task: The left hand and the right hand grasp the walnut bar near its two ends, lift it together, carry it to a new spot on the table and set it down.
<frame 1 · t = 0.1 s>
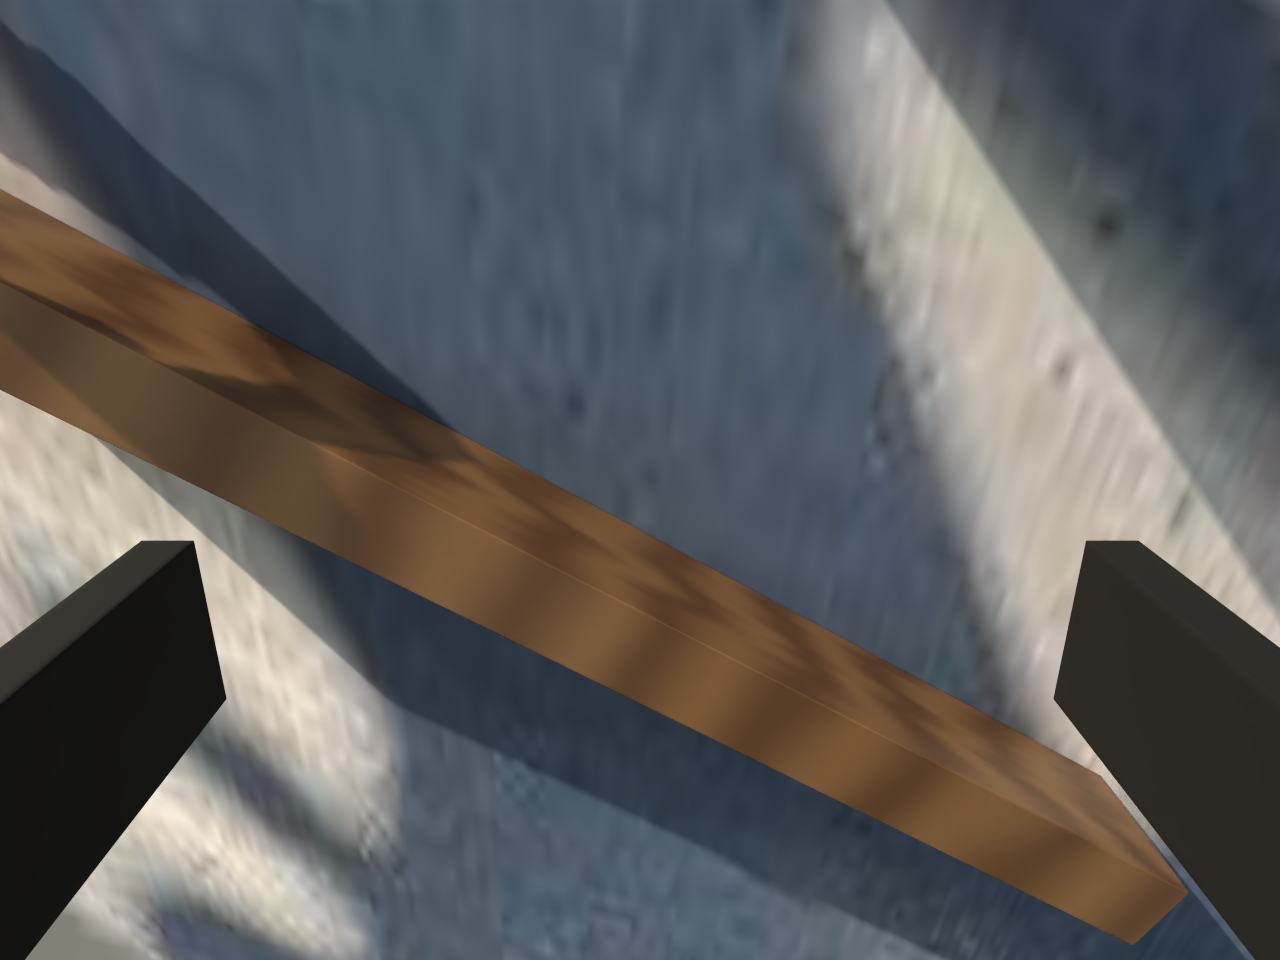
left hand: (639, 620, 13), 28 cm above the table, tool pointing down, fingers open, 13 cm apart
bar: (540, 518, 42), on the table
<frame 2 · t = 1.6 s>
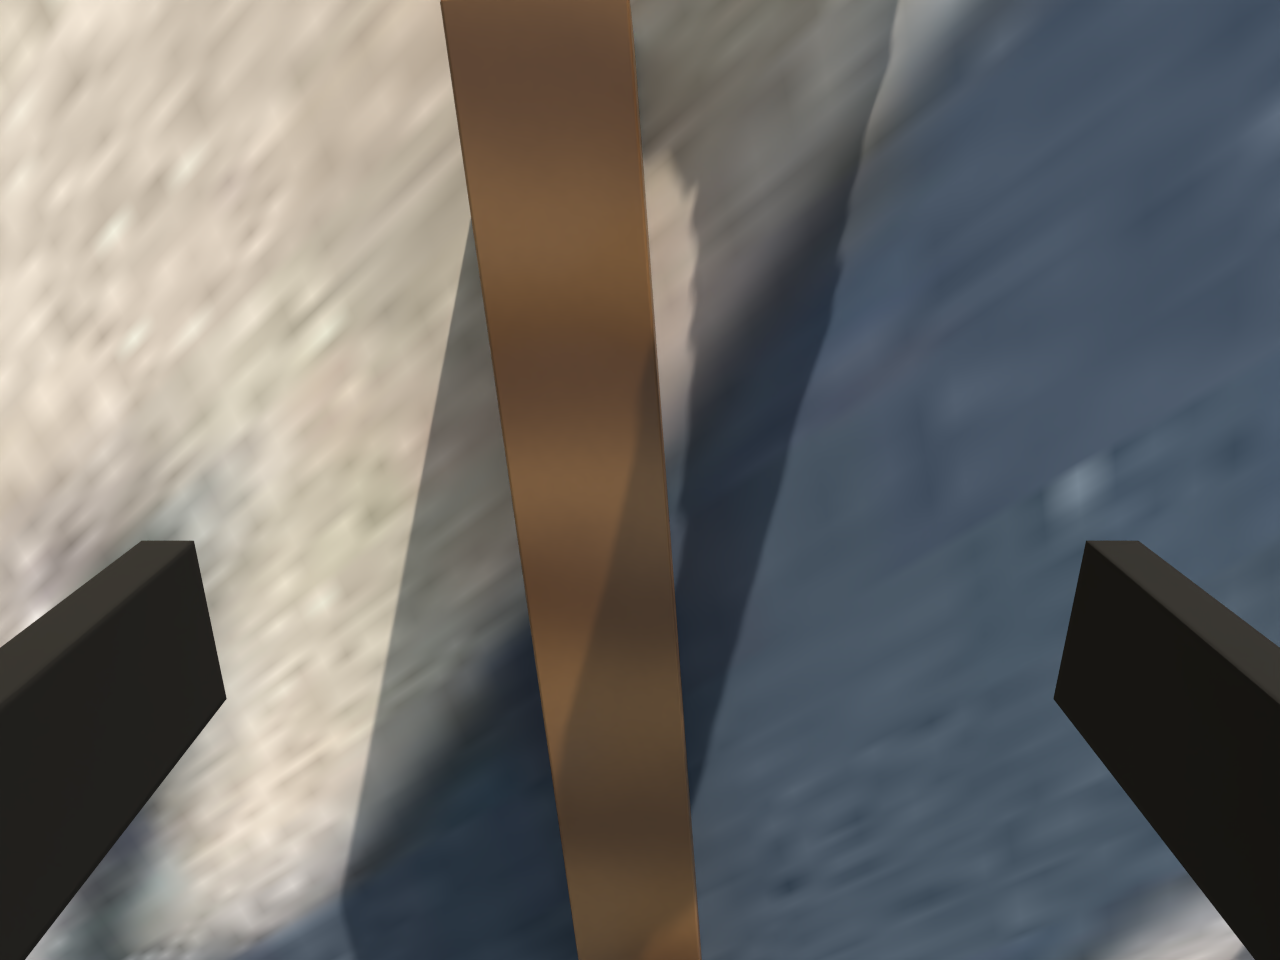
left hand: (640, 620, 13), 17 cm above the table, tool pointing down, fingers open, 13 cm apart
bar: (654, 917, 38), on the table
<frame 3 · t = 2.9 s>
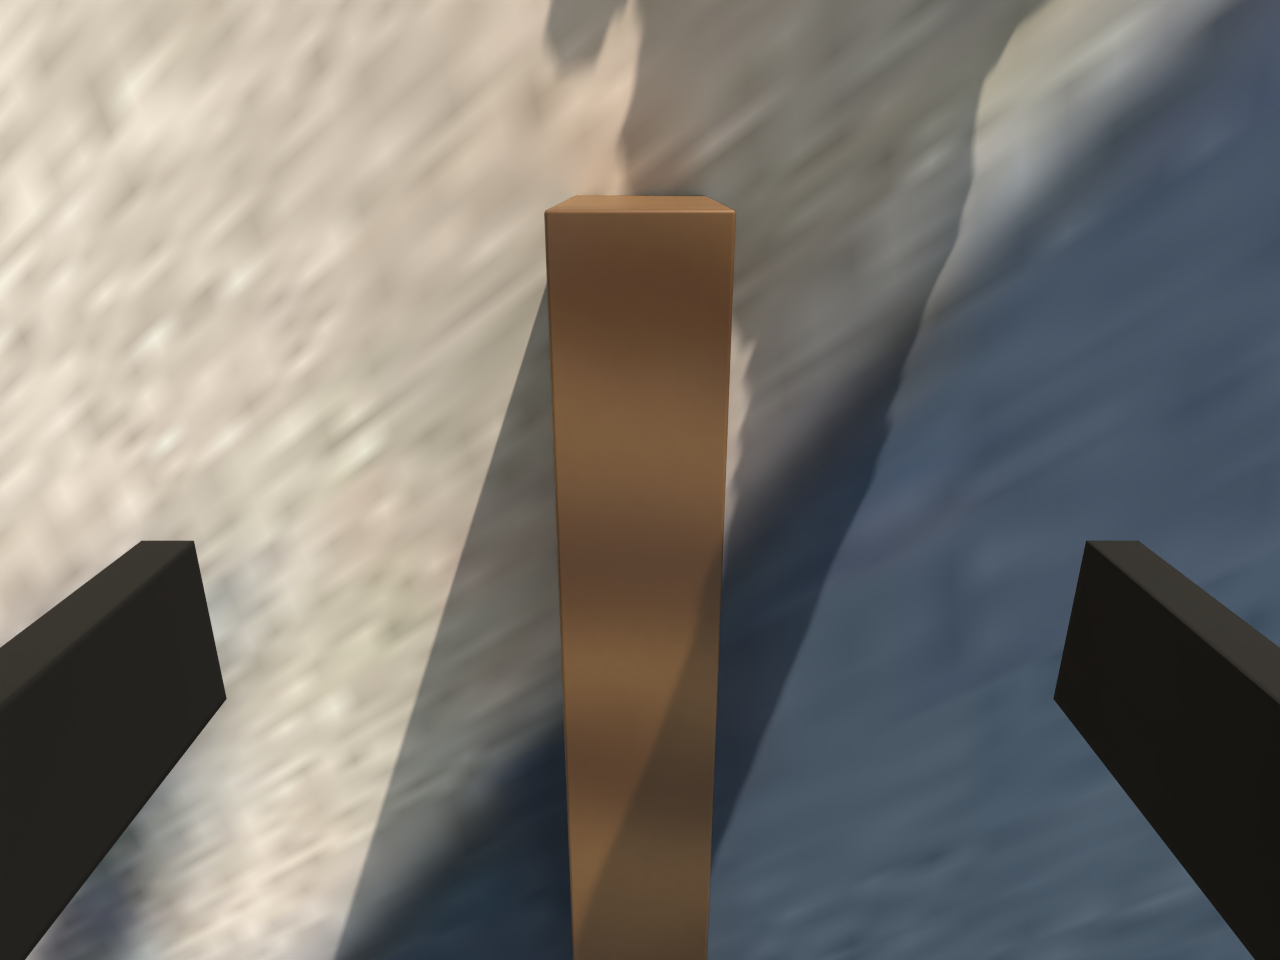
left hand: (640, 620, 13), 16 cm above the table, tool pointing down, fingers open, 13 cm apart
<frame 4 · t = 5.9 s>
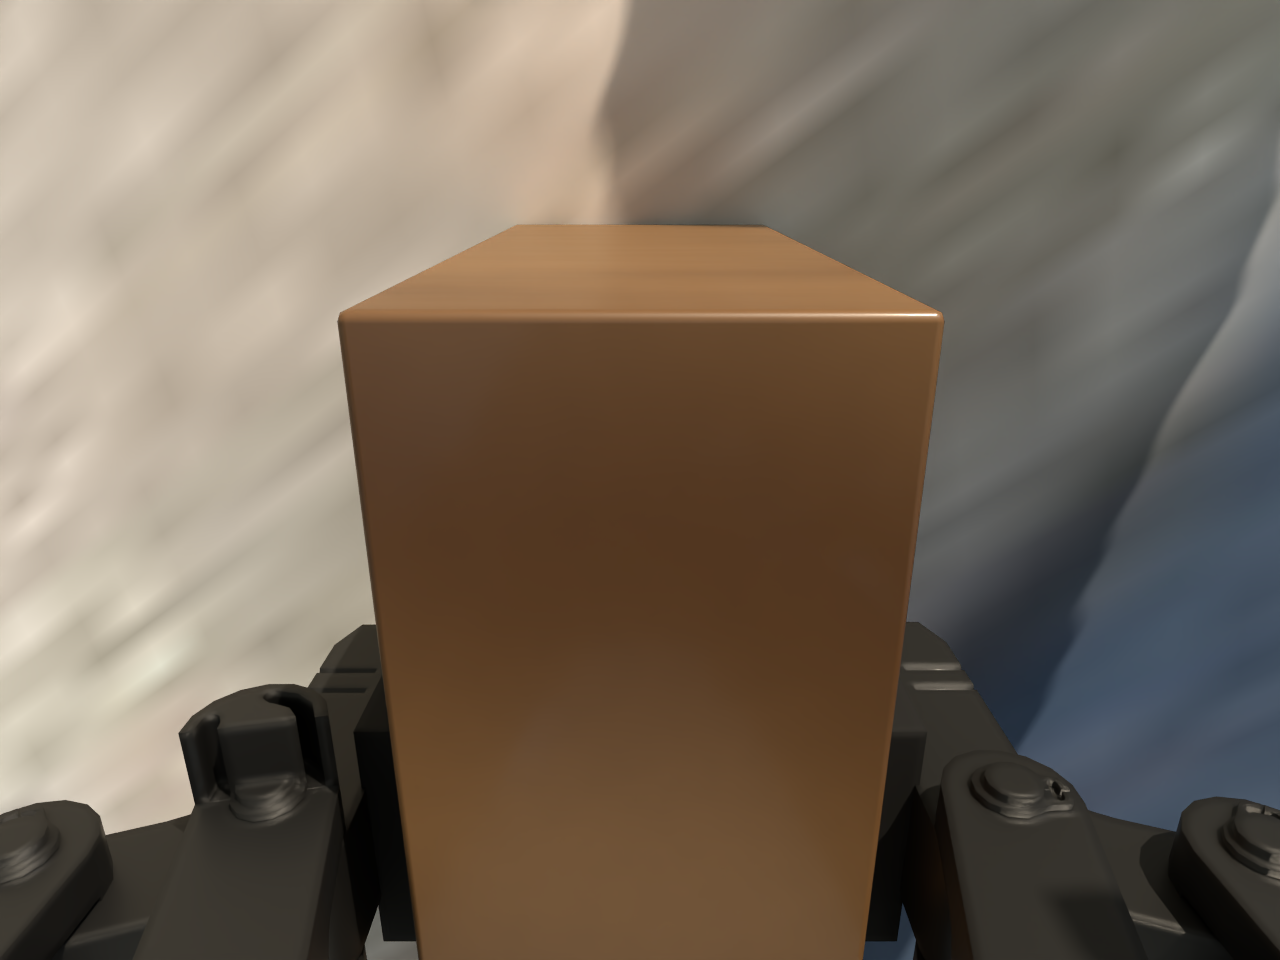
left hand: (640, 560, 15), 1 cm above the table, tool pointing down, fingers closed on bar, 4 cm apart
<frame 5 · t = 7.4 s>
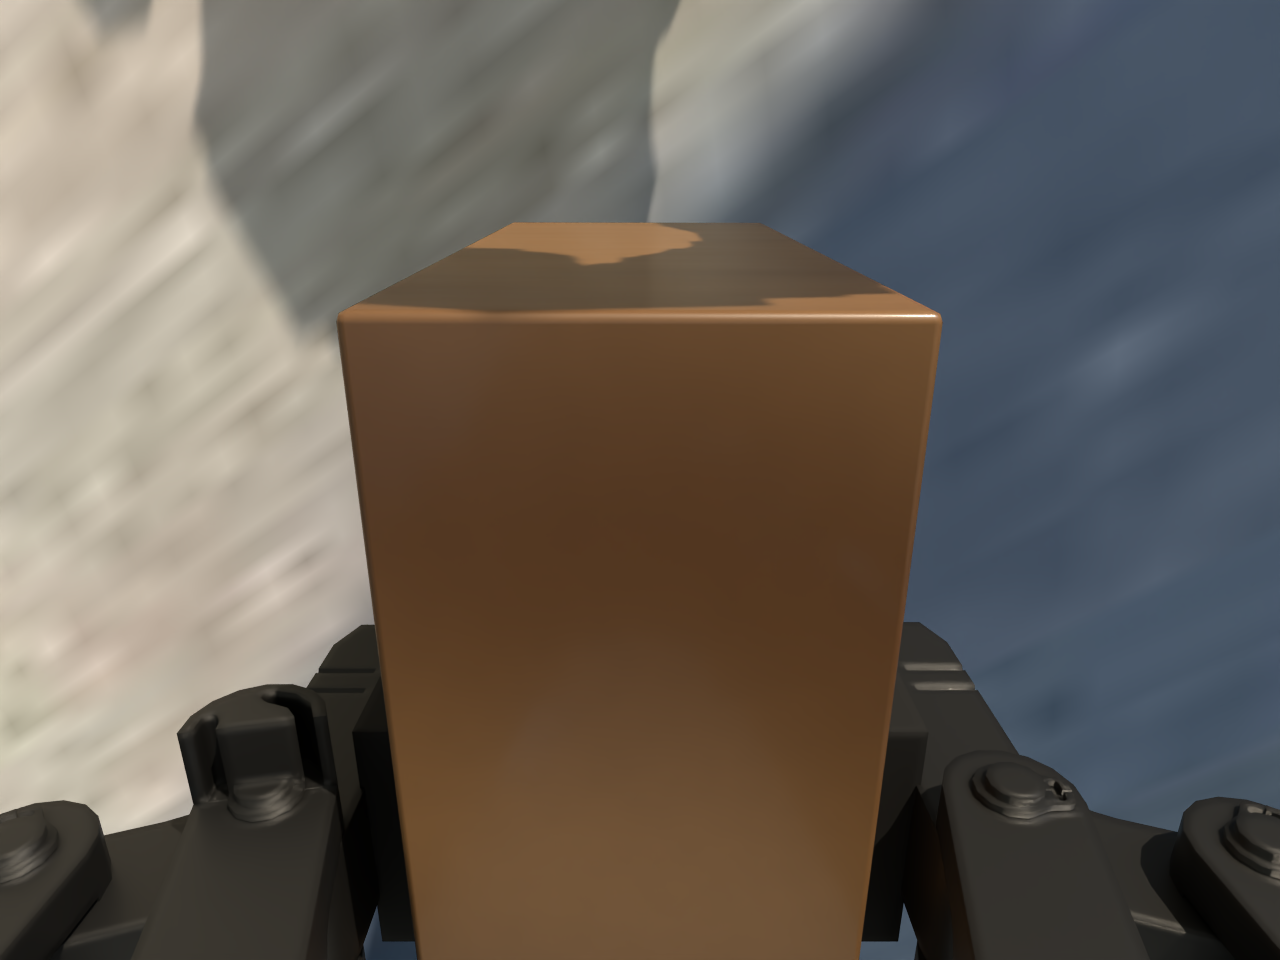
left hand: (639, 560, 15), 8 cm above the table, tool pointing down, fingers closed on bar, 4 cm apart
when the left hand's fingers open (2 cm above the table, at t = 9.0 s): bar drops 2 cm, on the table.
when the right hand's fingers open (5 cm above the table, at t = 9.1 s): bar drops 1 cm, on the table.
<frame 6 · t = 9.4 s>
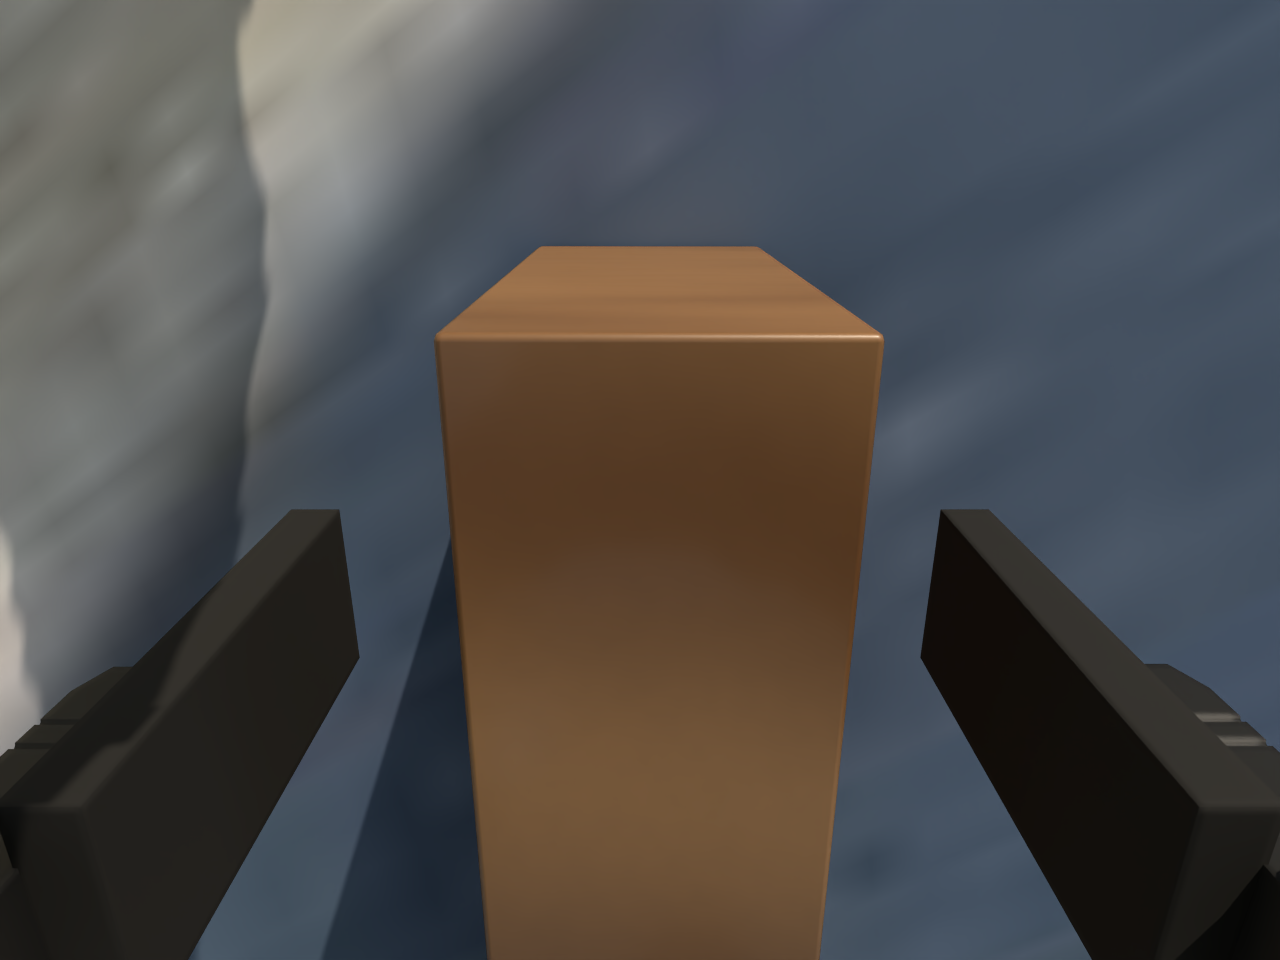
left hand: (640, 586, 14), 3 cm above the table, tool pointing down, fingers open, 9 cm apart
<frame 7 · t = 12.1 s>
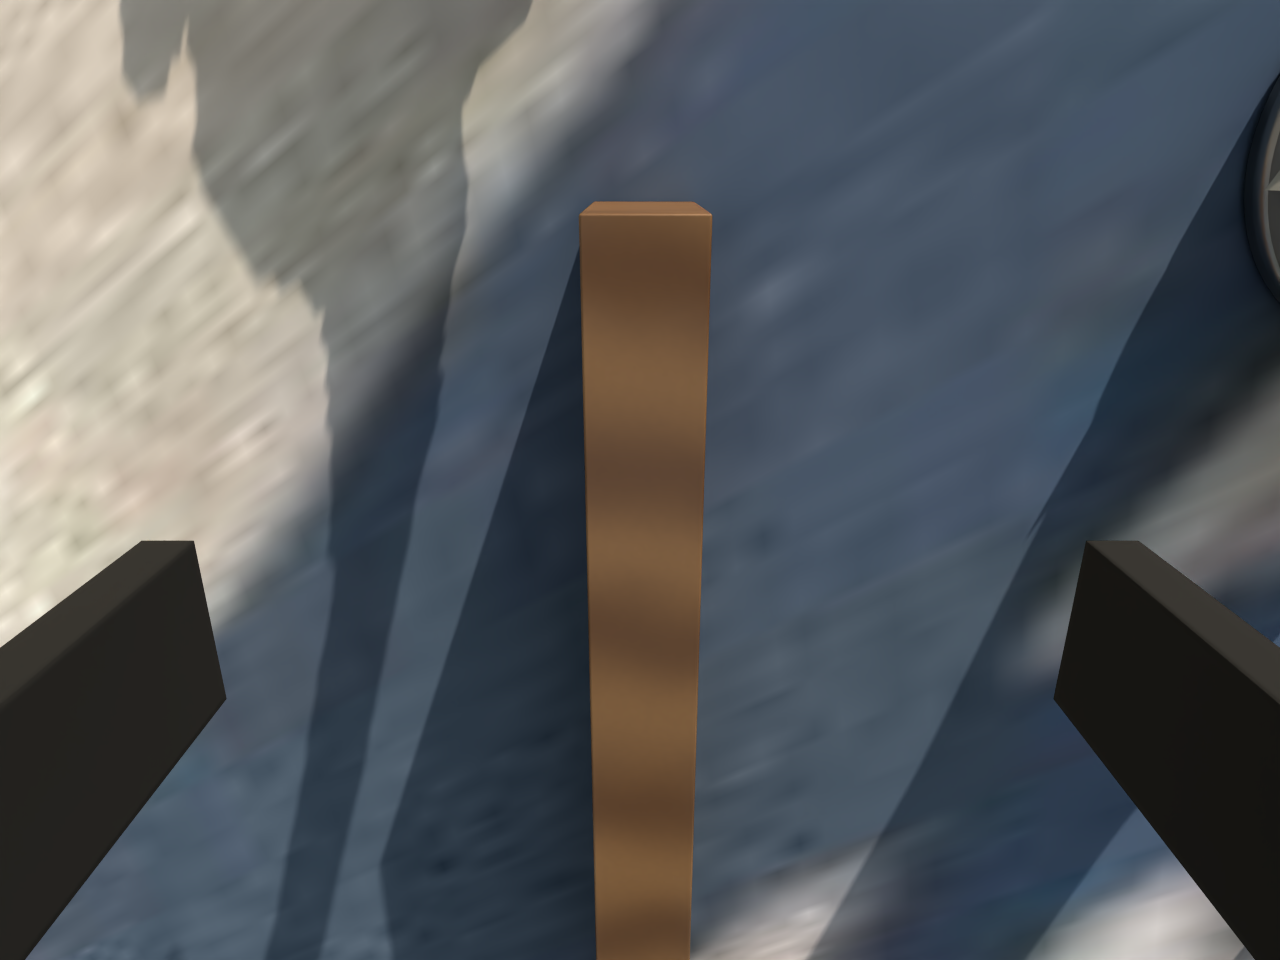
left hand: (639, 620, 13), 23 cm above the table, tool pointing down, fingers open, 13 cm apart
bar: (642, 890, 45), on the table
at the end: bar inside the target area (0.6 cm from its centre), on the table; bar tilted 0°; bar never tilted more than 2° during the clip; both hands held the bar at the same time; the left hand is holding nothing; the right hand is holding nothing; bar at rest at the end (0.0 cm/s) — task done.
